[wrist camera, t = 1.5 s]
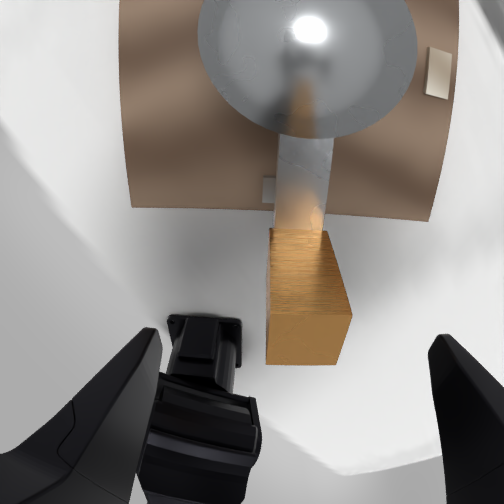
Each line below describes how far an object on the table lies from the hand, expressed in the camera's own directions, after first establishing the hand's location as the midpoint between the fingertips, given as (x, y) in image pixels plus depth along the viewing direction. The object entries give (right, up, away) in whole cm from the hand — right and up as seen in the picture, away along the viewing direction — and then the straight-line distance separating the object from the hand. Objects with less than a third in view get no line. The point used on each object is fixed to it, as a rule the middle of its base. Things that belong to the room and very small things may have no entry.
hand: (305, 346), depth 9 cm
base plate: (+1, +14, +6) cm, 16 cm away
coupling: (+1, +9, +4) cm, 10 cm away
